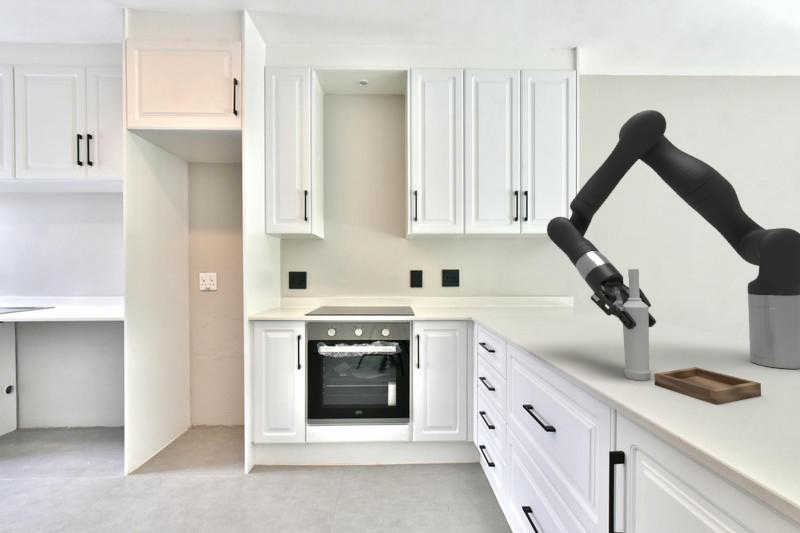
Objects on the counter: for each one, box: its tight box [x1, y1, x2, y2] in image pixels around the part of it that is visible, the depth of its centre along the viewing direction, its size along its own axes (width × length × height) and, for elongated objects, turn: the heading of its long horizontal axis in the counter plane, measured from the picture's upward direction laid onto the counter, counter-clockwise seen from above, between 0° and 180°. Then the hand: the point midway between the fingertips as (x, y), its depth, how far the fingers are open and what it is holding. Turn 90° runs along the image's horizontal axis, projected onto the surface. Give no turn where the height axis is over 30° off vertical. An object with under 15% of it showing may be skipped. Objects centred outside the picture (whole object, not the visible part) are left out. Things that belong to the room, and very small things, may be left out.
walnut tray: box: [654, 366, 762, 405], centre depth 74 cm, size 12×12×2 cm
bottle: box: [622, 268, 652, 382], centre depth 83 cm, size 5×5×25 cm
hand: (642, 325), depth 82 cm, fingers closed on bottle, 5 cm apart
